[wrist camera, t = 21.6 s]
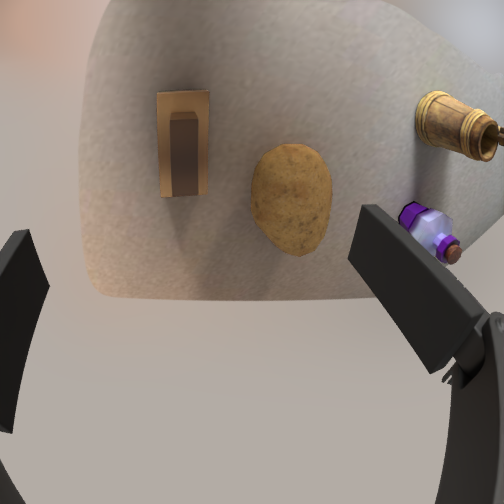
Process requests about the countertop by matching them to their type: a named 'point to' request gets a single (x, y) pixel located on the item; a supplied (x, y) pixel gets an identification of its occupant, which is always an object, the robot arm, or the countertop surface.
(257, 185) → the potato
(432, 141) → the wooden mug
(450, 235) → the potion bottle
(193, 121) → the brush
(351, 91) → the countertop surface
